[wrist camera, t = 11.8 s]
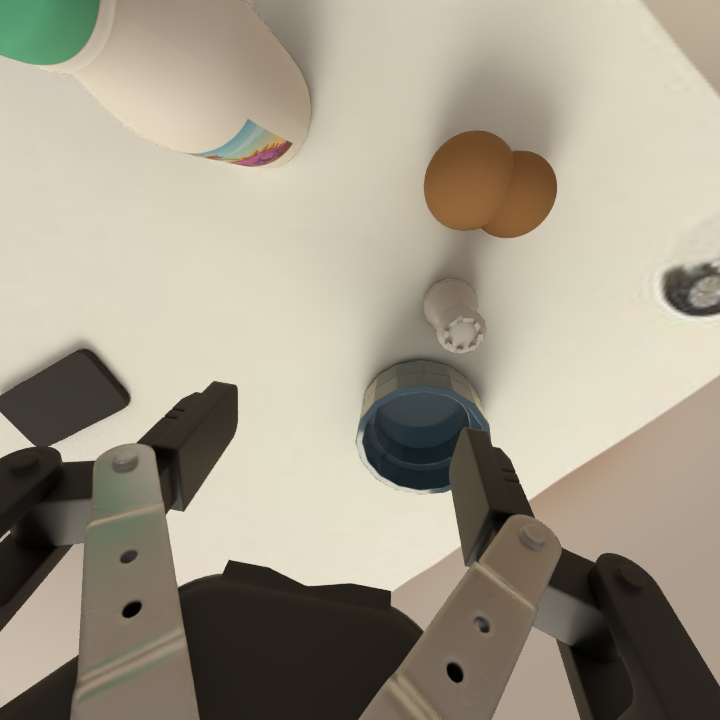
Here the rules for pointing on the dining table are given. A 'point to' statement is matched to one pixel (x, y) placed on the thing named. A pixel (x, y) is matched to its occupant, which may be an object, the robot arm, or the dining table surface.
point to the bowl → (416, 425)
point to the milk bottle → (172, 71)
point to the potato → (489, 186)
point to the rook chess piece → (454, 315)
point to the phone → (63, 399)
